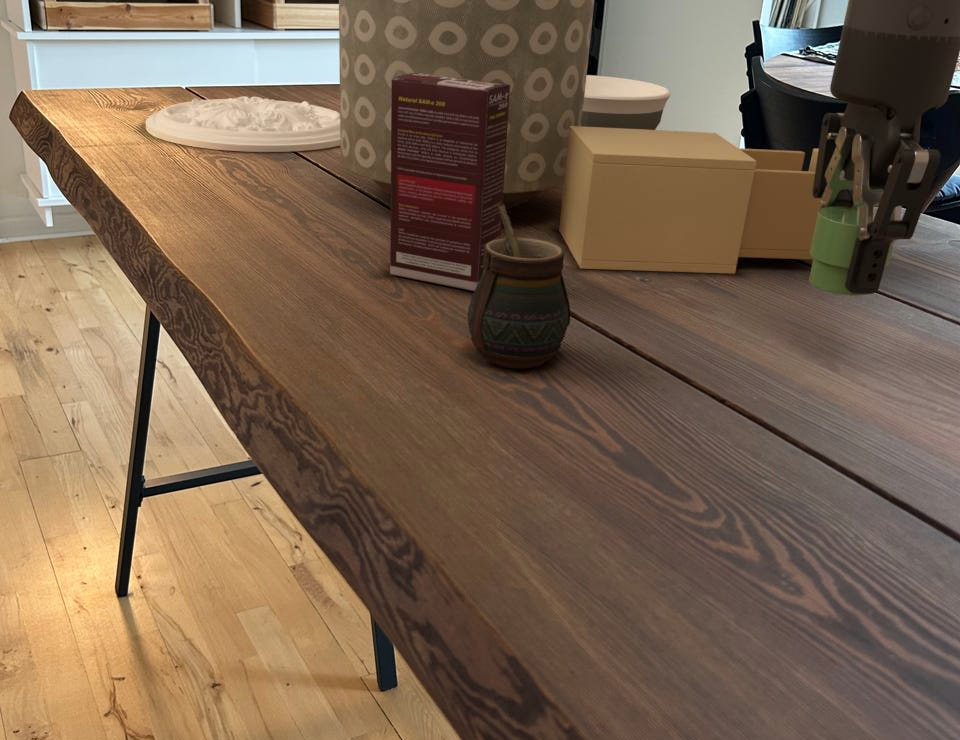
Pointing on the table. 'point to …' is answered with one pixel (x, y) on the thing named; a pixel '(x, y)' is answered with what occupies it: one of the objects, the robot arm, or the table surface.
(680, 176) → the cabinet
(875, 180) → the robot arm
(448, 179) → the supplement box
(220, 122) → the ceiling medallion
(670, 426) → the table surface
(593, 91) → the bowl
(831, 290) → the green stepped cylinder
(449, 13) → the planter
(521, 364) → the mate gourd
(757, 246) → the drawer
